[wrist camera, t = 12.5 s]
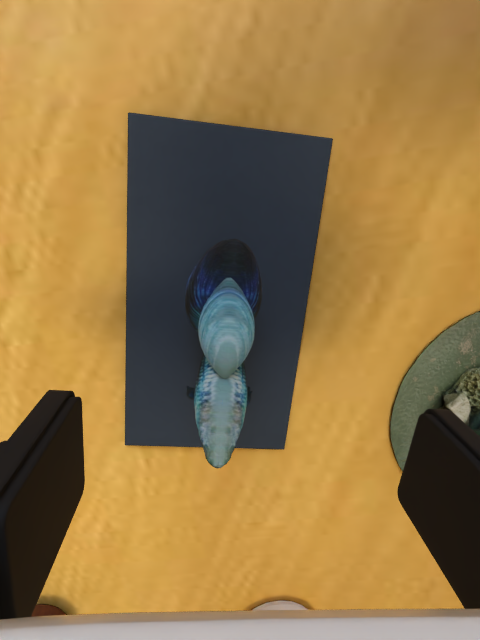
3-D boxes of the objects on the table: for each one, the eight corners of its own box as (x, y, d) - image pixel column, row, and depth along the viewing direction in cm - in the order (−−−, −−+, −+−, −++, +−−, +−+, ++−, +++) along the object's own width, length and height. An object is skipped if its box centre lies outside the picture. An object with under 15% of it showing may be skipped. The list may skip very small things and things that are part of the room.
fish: (181, 374, 26) (168, 472, 17) (190, 226, 23) (182, 245, 14) (242, 377, 27) (264, 475, 17) (259, 233, 24) (296, 256, 14)
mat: (129, 113, 22) (127, 112, 21) (330, 139, 23) (333, 138, 23) (125, 442, 28) (124, 445, 28) (283, 446, 29) (284, 449, 29)
